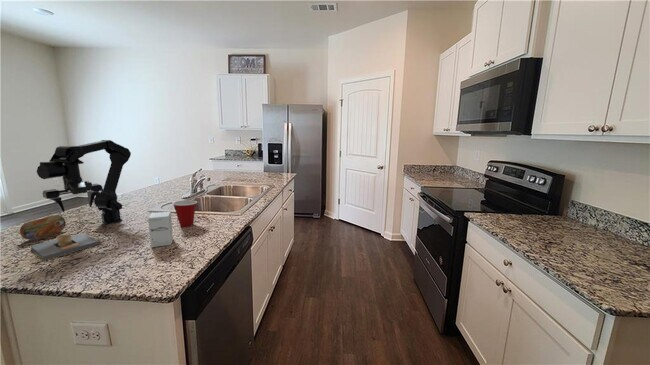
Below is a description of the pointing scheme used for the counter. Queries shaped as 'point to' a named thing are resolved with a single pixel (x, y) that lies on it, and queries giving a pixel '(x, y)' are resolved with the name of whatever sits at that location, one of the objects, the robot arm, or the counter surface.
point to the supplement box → (160, 229)
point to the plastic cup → (185, 212)
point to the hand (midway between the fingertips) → (77, 209)
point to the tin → (42, 227)
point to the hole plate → (52, 250)
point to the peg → (64, 239)
